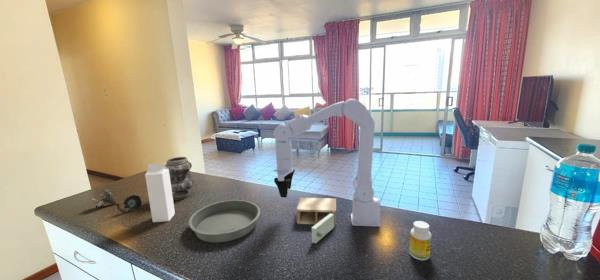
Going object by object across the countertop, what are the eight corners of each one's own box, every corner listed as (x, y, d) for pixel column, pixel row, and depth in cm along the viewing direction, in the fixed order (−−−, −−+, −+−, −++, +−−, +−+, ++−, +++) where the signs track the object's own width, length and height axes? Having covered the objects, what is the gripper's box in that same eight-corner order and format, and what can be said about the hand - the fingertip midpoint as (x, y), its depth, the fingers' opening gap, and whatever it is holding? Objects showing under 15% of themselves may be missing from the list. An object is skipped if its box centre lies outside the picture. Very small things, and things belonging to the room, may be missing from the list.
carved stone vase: (186, 188, 127) (182, 154, 124) (200, 193, 120) (196, 157, 117) (162, 197, 118) (157, 160, 114) (176, 203, 111) (170, 164, 107)
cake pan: (173, 238, 84) (171, 226, 83) (220, 206, 107) (219, 196, 106) (235, 252, 76) (234, 239, 75) (272, 214, 98) (271, 203, 98)
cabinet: (336, 211, 98) (336, 198, 97) (336, 225, 89) (336, 210, 88) (300, 210, 100) (300, 197, 99) (297, 223, 91) (296, 209, 90)
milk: (169, 221, 95) (160, 165, 91) (152, 222, 95) (143, 166, 90) (175, 213, 101) (167, 161, 97) (159, 214, 101) (151, 161, 96)
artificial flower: (125, 218, 101) (112, 199, 97) (97, 214, 112) (84, 196, 108) (145, 204, 108) (133, 185, 105) (116, 201, 119) (105, 183, 115)
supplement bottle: (410, 247, 76) (412, 217, 74) (430, 252, 73) (433, 222, 71) (407, 257, 71) (409, 226, 69) (428, 263, 68) (431, 231, 66)
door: (332, 225, 88) (332, 210, 87) (338, 227, 87) (338, 212, 86) (311, 242, 79) (311, 226, 78) (318, 245, 77) (318, 229, 76)
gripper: (277, 152, 98) (279, 185, 101) (268, 163, 84) (270, 200, 87) (295, 152, 97) (296, 185, 100) (288, 163, 83) (290, 201, 86)
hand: (285, 192), depth 93 cm, fingers open, 7 cm apart
